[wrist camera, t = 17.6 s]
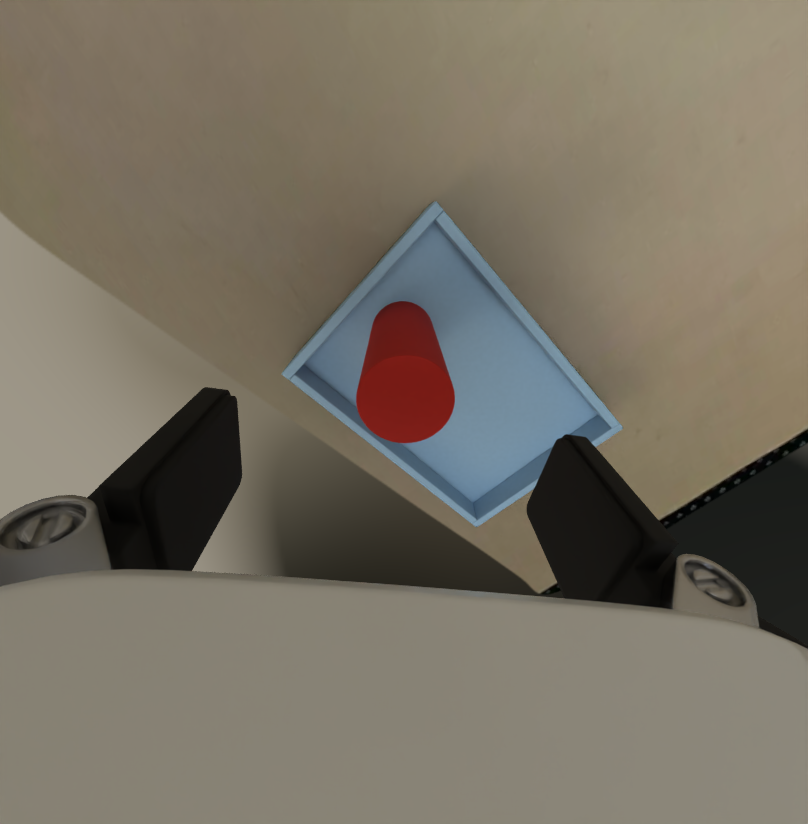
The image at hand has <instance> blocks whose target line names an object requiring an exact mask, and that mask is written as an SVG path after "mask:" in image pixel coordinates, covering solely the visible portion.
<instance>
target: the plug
mask: <svg viewBox="0 0 808 824" xmlns="http://www.w3.org/2000/svg"><path fill="white" fill-rule="evenodd" d="M356 404H357V409H358V413H359V415H360V417H361V419H362V421H363V422H364V424H365V425H366V426H367V427H368V428H369V429H370V430H371V431H372V432H373V433H374V434H376V435H377V436H379V437H381V438H383V439H385V440H388V441H391V442H396V443H414V442H419V441H422V440H425V439H427V438H429V437H431V436H433V435H435V434H436V433H437V432H439V431H440V430H441V429H442V428H443V427H444V426H445V425H446V423H447V422H448V420H449V419H450V417H451V415H452V412H453V409H454V405H455V392H454V388H453V384H452V381H451V378H450V375H449V372H448V369H447V366H446V363H445V360H444V357H443V354H442V351H441V348H440V345H439V342H438V339H437V336H436V333H435V330H434V327H433V324H432V321H431V319H430V317H429V315H428V314H427V312H426V311H425V310H424V309H423V308H421V307H420V306H418V305H417V304H414V303H412V302H407V301H398V302H394V303H391V304H389V305H387V306H385V307H384V308H383V309H381V310H380V311H379V313H378V314H377V315H376V317H375V319H374V322H373V325H372V329H371V333H370V338H369V342H368V346H367V350H366V355H365V359H364V363H363V367H362V372H361V376H360V380H359V385H358V389H357V394H356Z"/></svg>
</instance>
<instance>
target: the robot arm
mask: <svg viewBox="0 0 808 824" xmlns="http://www.w3.org/2000/svg"><path fill="white" fill-rule="evenodd" d="M241 478H242V465H241V451H240V437H239V422H238V408H237V399H236V397H235V396H231V395H230V393H229V391H228V390H223V389H216V388H208V387H205V388H203V389H202V390H201V391H200V392H199V393H198V394H197V395H196V396H194V397H193V398H192V400H190V401H189V402H188V403H187V404H186V405H185V406H184V407H183V408H182V409H181V410H180V411H178V412H177V413H176V414H175V415H174V416H173V417H172V418H171V419H170V420H169V421H168V422H167V423H166V424H165V425H164V426H163V427H161V428H160V429H159V430H158V431H157V432H156V433H155V434H154V435H153V436H152V437H151V438H150V439H149V440H148V441H146V442H145V443H144V444H143V445H142V446H141V447H140V448H139V449H138V450H137V451H136V452H135V453H134V454H133V455H132V456H131V457H130V458H128V459H127V460H126V461H125V462H124V463H123V464H122V465H121V466H120V467H119V468H118V469H117V470H116V471H114V472H113V473H112V474H111V475H110V476H109V477H108V478H107V479H106V480H105V481H104V482H103V483H102V484H101V485H100V486H99V487H98V488H97V489H96V490H95V491H94V492H93V493H92V494H91V495H90V496H89V497H87V498H86V497H82V496H76V495H66V496H65V495H64V496H55V497H50V498H45V499H41V500H38V501H35V502H32V503H29V504H26V505H24V506H23V507H20V508H18V509H16V510H15V511H13V512H10V513H9V514H7V515H6V516H5V517H3V518H2V519H1V520H0V824H808V646H807V645H806V644H804V643H802V642H801V641H799V640H797V639H796V638H794V637H792V636H791V635H789V634H787V633H786V632H784V631H782V630H781V629H779V628H777V627H776V626H774V625H772V624H771V623H769V622H767V621H766V620H764V619H762V618H760V617H759V616H757V610H756V604H755V602H754V599H753V596H752V595H751V593H750V592H749V591H748V590H747V588H746V587H745V586H744V585H743V584H742V583H741V582H740V581H739V580H738V579H737V578H736V577H735V576H734V575H732V574H731V573H730V572H728V571H727V570H726V569H724V568H723V567H721V566H719V565H718V564H716V563H714V562H712V561H710V560H708V559H705V558H703V557H700V556H696V555H693V554H684V555H681V556H679V557H678V558H677V559H676V558H675V556H674V555H673V554H672V553H671V552H672V551H673V550H674V549H675V547H676V546H677V545H678V543H677V541H676V540H675V539H674V538H673V537H672V536H671V534H670V533H669V532H668V531H667V530H666V529H665V527H664V526H663V525H662V524H661V523H660V522H659V520H658V519H657V518H656V517H655V516H654V515H653V514H652V512H651V511H650V510H649V509H648V508H647V507H646V505H645V504H644V503H643V502H642V501H641V500H640V498H639V497H638V496H637V495H636V494H635V493H634V492H633V490H632V489H631V488H630V487H629V486H628V485H627V483H626V482H625V481H624V480H623V479H622V478H621V476H620V475H619V474H618V473H617V472H616V471H615V470H614V468H613V467H612V466H611V465H610V464H609V463H608V461H607V460H606V459H605V458H604V457H603V456H602V454H601V453H600V452H599V451H598V450H597V449H596V448H595V446H594V445H593V444H592V443H591V442H590V441H589V439H588V438H586V437H583V436H576V435H568V434H566V435H564V436H563V437H562V438H559V439H557V440H556V442H555V444H554V446H553V448H552V450H551V452H550V455H549V457H548V459H547V461H546V464H545V466H544V468H543V470H542V472H541V475H540V477H539V479H538V481H537V484H536V486H535V488H534V490H533V492H532V495H531V497H530V499H529V501H528V504H527V515H528V517H529V520H530V522H531V524H532V526H533V529H534V531H535V533H536V535H537V538H538V540H539V542H540V544H541V547H542V549H543V551H544V553H545V556H546V558H547V560H548V562H549V564H550V567H551V569H552V571H553V573H554V576H555V578H556V580H557V582H558V585H559V587H560V589H561V591H562V593H563V596H564V598H565V599H562V598H550V597H539V596H527V595H515V594H503V593H491V592H490V593H489V592H477V591H465V590H453V589H440V588H426V587H413V586H401V585H388V584H375V583H361V582H348V581H334V580H320V579H306V578H292V577H278V576H265V575H251V574H250V575H249V574H233V573H215V572H214V573H213V572H197V571H192V570H193V568H194V566H195V564H196V562H197V561H198V559H199V557H200V555H201V553H202V552H203V550H204V548H205V546H206V544H207V543H208V541H209V539H210V537H211V535H212V534H213V532H214V530H215V528H216V527H217V525H218V523H219V521H220V519H221V518H222V516H223V514H224V512H225V510H226V508H227V507H228V505H229V503H230V501H231V500H232V498H233V496H234V494H235V492H236V490H237V489H238V487H239V485H240V482H241Z"/></svg>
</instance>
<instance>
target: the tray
mask: <svg viewBox="0 0 808 824" xmlns="http://www.w3.org/2000/svg"><path fill="white" fill-rule="evenodd" d="M398 301H407V302H412V303H414V304H417V305H418V306H420V307H421V308H423V309H424V310H425V311H426V312H427V314H428V315H429V317H430V319H431V321H432V324H433V327H434V330H435V333H436V336H437V339H438V342H439V345H440V348H441V351H442V354H443V357H444V360H445V363H446V366H447V369H448V372H449V375H450V378H451V381H452V384H453V388H454V392H455V405H454V409H453V412H452V415H451V417H450V419H449V420H448V422H447V423H446V425H445V426H444V427H443V428H442V429H441V430H440V431H439V432H437V433H436V434H435V435H433V436H431V437H429V438H427V439H425V440H422V441H419V442H414V443H396V442H391V441H388V440H385V439H383V438H381V437H379V436H377V435H376V434H374V433H373V432H372V431H371V430H370V429H369V428H368V427H367V426H366V425H365V424H364V422H363V421H362V419H361V417H360V415H359V413H358V409H357V404H356V394H357V389H358V385H359V380H360V376H361V372H362V367H363V363H364V359H365V355H366V350H367V346H368V342H369V338H370V333H371V329H372V325H373V322H374V319H375V317H376V315H377V314H378V313H379V311H380V310H381V309H383V308H384V307H385V306H387V305H389V304H391V303H394V302H398ZM282 375H283V376H284V377H286V378H287V379H288V380H289V379H290V381H291V382H292V383H293V384H295V385H296V386H297V387H298V388H300V389H301V390H302V391H304V392H305V393H306V394H307V395H309V396H310V397H311V398H312V399H314V400H315V401H316V402H318V403H319V404H320V405H321V406H323V407H324V408H325V409H326V410H328V411H329V412H330V413H332V414H333V415H334V416H335V417H337V418H338V419H339V420H340V421H342V422H343V423H344V424H346V425H347V426H348V427H349V428H351V429H352V430H353V431H354V432H356V433H357V434H358V435H360V436H361V437H362V438H363V439H365V440H366V441H367V442H368V443H370V444H371V445H372V446H374V447H375V448H376V449H377V450H379V451H380V452H381V453H382V454H384V455H385V456H386V457H388V458H389V459H390V460H391V461H393V462H394V463H395V464H396V465H398V466H399V467H400V468H402V469H403V470H404V471H405V472H407V473H408V474H409V475H410V476H412V477H413V478H414V479H416V480H417V481H418V482H419V483H421V484H422V485H423V486H424V487H426V488H427V489H428V490H430V491H431V492H432V493H433V494H435V495H436V496H437V497H439V498H440V499H441V500H442V501H444V502H445V503H446V504H447V505H449V506H450V507H451V508H453V509H454V510H455V511H456V512H458V513H459V514H460V515H461V516H463V517H464V518H465V519H467V520H468V521H469V522H470V523H472V524H473V525H474V526H475V527H478V526H479V525H481V524H482V523H484V522H485V521H487V520H488V519H490V518H491V517H493V516H494V515H496V514H497V513H499V512H500V511H502V510H503V509H504V508H506V507H507V506H509V505H510V504H512V503H513V502H515V501H516V500H518V499H519V498H521V497H522V496H524V495H525V494H527V493H528V492H530V491H531V490H533V489H534V488H535V486H536V484H537V481H538V479H539V477H540V475H541V472H542V470H543V468H544V466H545V464H546V461H547V459H548V457H549V455H550V452H551V450H552V448H553V446H554V444H555V442H556V440H557V439H559V438H562V437H563V436H564V435H566V434H568V435H576V436H583V437H586V438H588V439H589V441H590V442H591V443H592V444H593V445H594V446H595V447H596V446H598V445H599V444H601V443H602V442H604V441H605V440H607V439H608V438H610V437H611V436H613V435H614V434H616V433H617V432H619V431H620V430H622V429H623V427H622V426H621V424H620V423H619V422H618V421H617V420H616V418H615V417H614V416H613V415H612V413H611V412H610V411H609V410H608V409H607V407H606V406H605V405H604V404H603V403H602V401H601V400H600V399H599V398H598V397H597V395H596V394H595V393H594V392H593V390H592V389H591V388H590V387H589V386H588V384H587V383H586V382H585V381H584V380H583V378H582V377H581V376H580V375H579V373H578V372H577V371H576V370H575V369H574V367H573V366H572V365H571V364H570V363H569V361H568V360H567V359H566V358H565V357H564V355H563V354H562V353H561V352H560V350H559V349H558V348H557V347H556V346H555V344H554V343H553V342H552V341H551V340H550V338H549V337H548V336H547V335H546V334H545V332H544V331H543V330H542V329H541V327H540V326H539V325H538V324H537V323H536V321H535V320H534V319H533V318H532V317H531V315H530V314H529V313H528V312H527V311H526V309H525V308H524V307H523V306H522V304H521V303H520V302H519V301H518V300H517V298H516V297H515V296H514V295H513V294H512V292H511V291H510V290H509V289H508V288H507V286H506V285H505V284H504V283H503V281H502V280H501V279H500V278H499V277H498V275H497V274H496V273H495V272H494V271H493V269H492V268H491V267H490V266H489V264H488V263H487V262H486V261H485V260H484V258H483V257H482V256H481V255H480V254H479V252H478V251H477V250H476V249H475V248H474V246H473V245H472V244H471V243H470V241H469V240H468V239H467V238H466V237H465V235H464V234H463V233H462V232H461V231H460V229H459V228H458V227H457V226H456V225H455V223H454V222H453V221H452V220H451V218H450V217H449V216H448V215H447V214H446V212H445V211H443V209H442V208H441V206H440V205H439V204H438V203H437V202H436V201H435V202H433V203H431V204H430V205H429V206H428V207H427V208H426V209H425V210H424V211H423V213H422V214H421V215H420V216H419V217H418V218H417V219H416V220H415V222H414V223H413V224H412V225H411V226H410V227H409V228H408V229H407V231H406V232H405V233H404V234H403V235H402V236H401V237H400V238H399V240H398V241H397V242H396V243H395V244H394V245H393V246H392V247H391V249H390V250H389V251H388V252H387V253H386V254H385V255H384V256H383V258H382V259H381V260H380V261H379V262H378V263H377V264H376V265H375V266H374V268H373V269H372V270H371V271H370V272H369V273H368V274H367V275H366V277H365V278H364V279H363V280H362V281H361V282H360V283H359V284H358V286H357V287H356V288H355V289H354V290H353V291H352V292H351V293H350V295H349V296H348V297H347V298H346V299H345V300H344V301H343V302H342V304H341V305H340V306H339V307H338V308H337V309H336V310H335V311H334V313H333V314H332V315H331V316H330V317H329V318H328V319H327V320H326V322H325V323H324V324H323V325H322V326H321V327H320V328H319V329H318V331H317V332H316V333H315V334H314V335H313V336H312V337H311V338H310V340H309V341H308V342H307V343H306V344H305V345H304V346H303V347H302V349H301V350H300V351H299V352H298V353H297V354H296V355H295V356H294V358H293V359H292V360H291V361H290V363H289V364H288V366H287V367H286V368H285V370H284V371H283V372H282Z"/></svg>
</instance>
